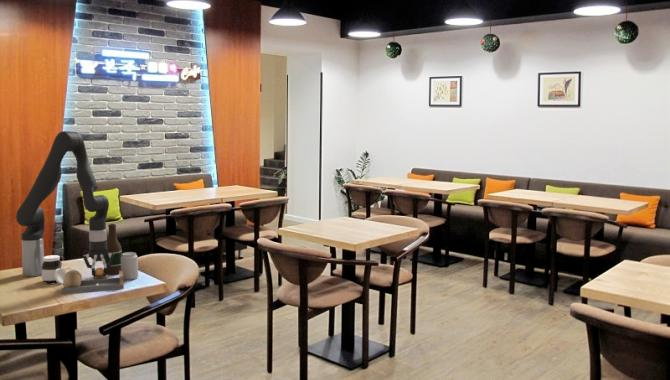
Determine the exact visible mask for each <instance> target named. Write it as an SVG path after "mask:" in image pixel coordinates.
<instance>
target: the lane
mask: <svg viewBox="0 0 670 380" xmlns="http://www.w3.org/2000/svg"><path fill="white" fill-rule="evenodd" d="M118 289H119V290H121V289H120V279H119V277H111V278H110V277H109V278H108V277H107V279H95V280H93V279H83V280H81V284H80V287H70V288H65V287H64V286H63V287H62V288H61V294H62V295H64V294H75V293H85V292H96V291H97V292H98V291H109V290H118ZM63 293H64V294H63Z"/></svg>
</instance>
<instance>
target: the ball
mask: <svg viewBox="0 0 670 380" xmlns="http://www.w3.org/2000/svg"><path fill="white" fill-rule="evenodd" d="M95 274H96V275H97V276H102V275H103V274H104V267H97V268H95Z"/></svg>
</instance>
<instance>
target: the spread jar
mask: <svg viewBox="0 0 670 380" xmlns="http://www.w3.org/2000/svg"><path fill="white" fill-rule="evenodd" d="M60 259H61V256H60V255H57V254H55V255H53V254H51V255H46V256H45V255H44V257H43V261H44V262H43V264H42V275H41V280H42V282H43V283H44V284H46V283H47V285H49V284H51V285H53V284H52V283H54V284H60V285H63V281H64V278H65V275H66V273H67V272H68V271H67V270H66V269H64V268H63V263H62V261H61V260H60Z"/></svg>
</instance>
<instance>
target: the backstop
mask: <svg viewBox="0 0 670 380" xmlns="http://www.w3.org/2000/svg"><path fill="white" fill-rule="evenodd" d="M118 276H119V277H118V278H119V279H120V289H119V290H121V289H124V288H125V286H124V279H123V270H119V274H118Z"/></svg>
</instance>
